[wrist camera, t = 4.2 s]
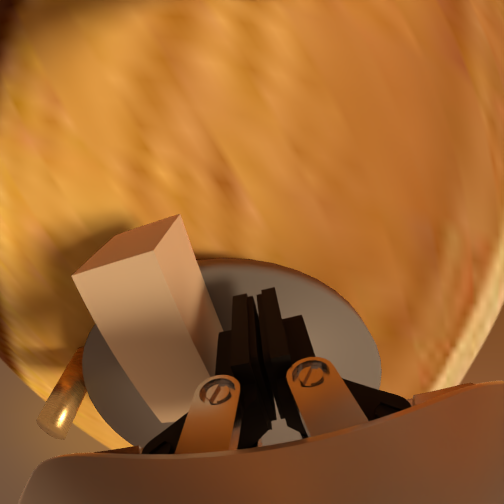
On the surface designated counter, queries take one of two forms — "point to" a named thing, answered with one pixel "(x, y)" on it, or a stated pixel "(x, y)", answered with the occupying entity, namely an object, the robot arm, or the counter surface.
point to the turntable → (192, 326)
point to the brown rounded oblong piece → (64, 399)
